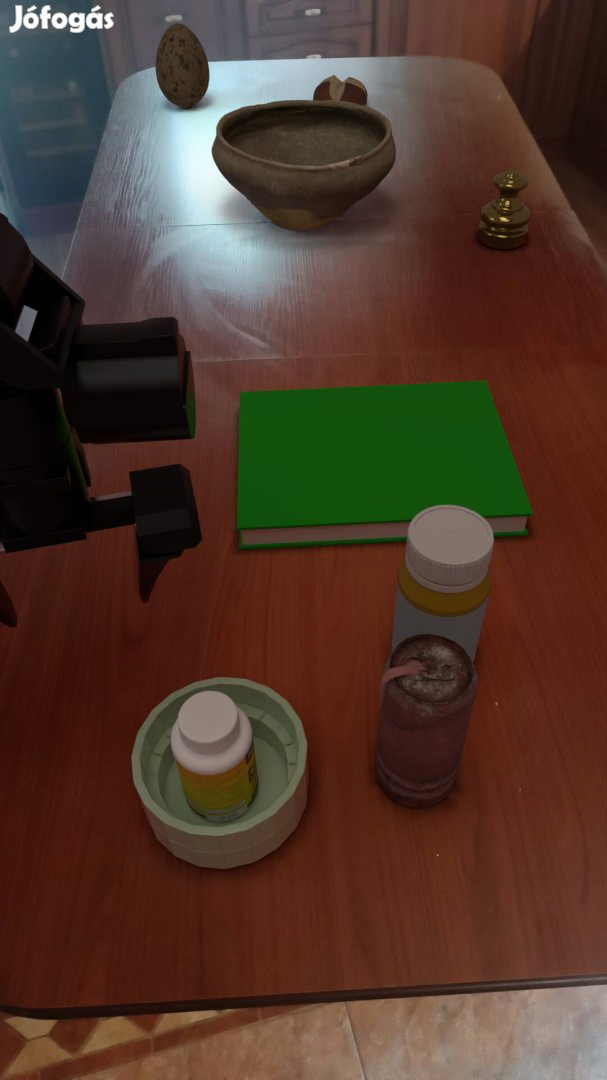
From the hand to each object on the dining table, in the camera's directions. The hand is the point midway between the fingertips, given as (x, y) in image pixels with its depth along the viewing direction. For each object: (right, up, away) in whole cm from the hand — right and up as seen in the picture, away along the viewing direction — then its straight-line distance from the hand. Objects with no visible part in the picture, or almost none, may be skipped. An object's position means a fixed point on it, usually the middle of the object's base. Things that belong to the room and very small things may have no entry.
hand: (80, 609), depth 57 cm
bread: (+24, +94, +108) cm, 145 cm away
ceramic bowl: (+10, -14, +3) cm, 18 cm away
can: (+24, -13, +4) cm, 28 cm away
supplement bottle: (+10, -14, +2) cm, 17 cm away
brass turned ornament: (+46, +51, +65) cm, 94 cm away
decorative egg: (-8, +95, +110) cm, 146 cm away
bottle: (+27, -5, +11) cm, 30 cm away
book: (+23, +13, +28) cm, 39 cm away
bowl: (+16, +57, +72) cm, 93 cm away
